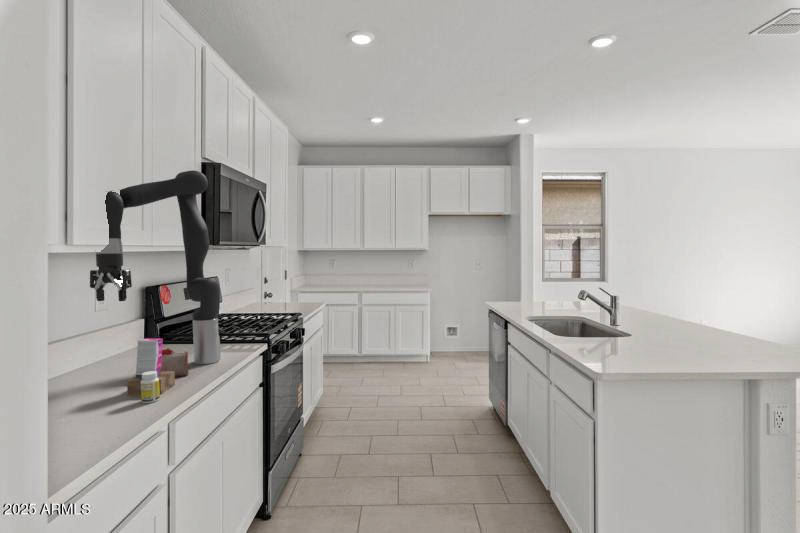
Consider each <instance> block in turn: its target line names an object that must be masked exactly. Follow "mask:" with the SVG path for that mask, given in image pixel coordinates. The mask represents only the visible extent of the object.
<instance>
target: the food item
mask: <svg viewBox="0 0 800 533" xmlns="http://www.w3.org/2000/svg"><path fill="white" fill-rule="evenodd" d="M188 353H189V352H188V351H186V350H181V351H174V350H173V349H171V348H169V347H167V348H166V349H165V348H163V349H162V361H161V372H162V371H175V378H177V377H178V378H179V377H187V376H188V375H189V361H188V360H189V359H188V357H189V356H188Z"/></svg>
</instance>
